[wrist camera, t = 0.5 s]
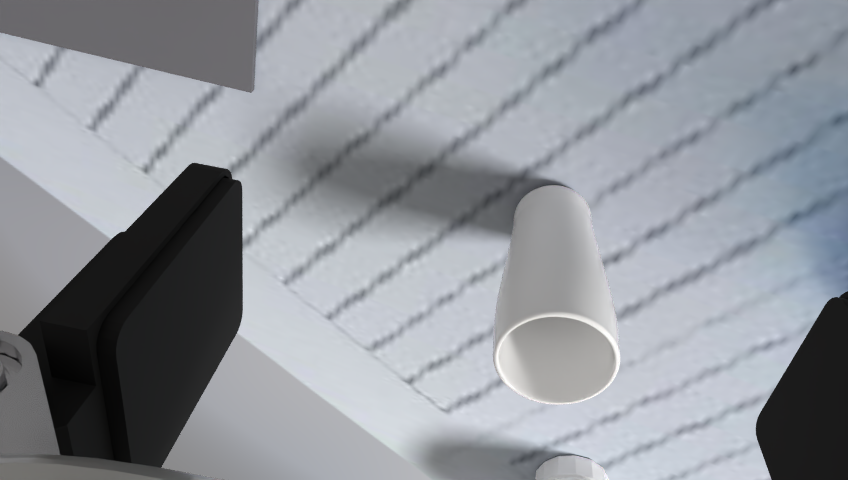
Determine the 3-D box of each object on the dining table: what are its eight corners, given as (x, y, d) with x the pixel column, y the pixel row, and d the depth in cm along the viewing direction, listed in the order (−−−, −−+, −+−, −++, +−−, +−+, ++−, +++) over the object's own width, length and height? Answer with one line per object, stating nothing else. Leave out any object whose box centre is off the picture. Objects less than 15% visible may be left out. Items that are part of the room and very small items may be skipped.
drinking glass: (488, 231, 50) (470, 378, 37) (531, 156, 46) (527, 292, 34) (571, 267, 50) (580, 423, 38) (620, 196, 47) (648, 343, 34)
